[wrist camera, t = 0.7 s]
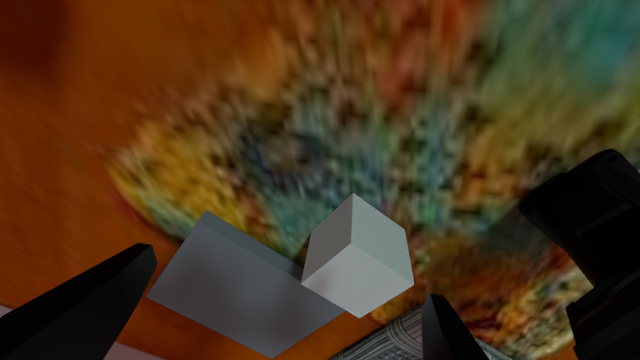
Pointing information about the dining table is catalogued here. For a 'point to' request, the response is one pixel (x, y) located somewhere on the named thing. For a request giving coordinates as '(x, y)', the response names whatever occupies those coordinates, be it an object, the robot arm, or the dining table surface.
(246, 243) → the slate board
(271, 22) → the dining table surface
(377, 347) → the dish towel
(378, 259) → the white cube
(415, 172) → the dining table surface
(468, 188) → the dining table surface
